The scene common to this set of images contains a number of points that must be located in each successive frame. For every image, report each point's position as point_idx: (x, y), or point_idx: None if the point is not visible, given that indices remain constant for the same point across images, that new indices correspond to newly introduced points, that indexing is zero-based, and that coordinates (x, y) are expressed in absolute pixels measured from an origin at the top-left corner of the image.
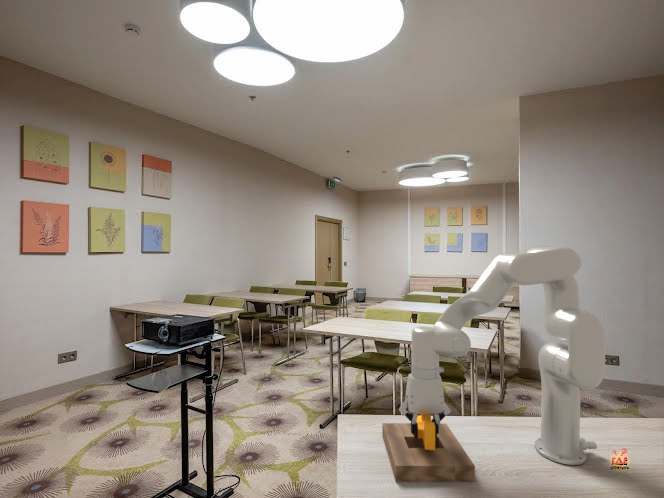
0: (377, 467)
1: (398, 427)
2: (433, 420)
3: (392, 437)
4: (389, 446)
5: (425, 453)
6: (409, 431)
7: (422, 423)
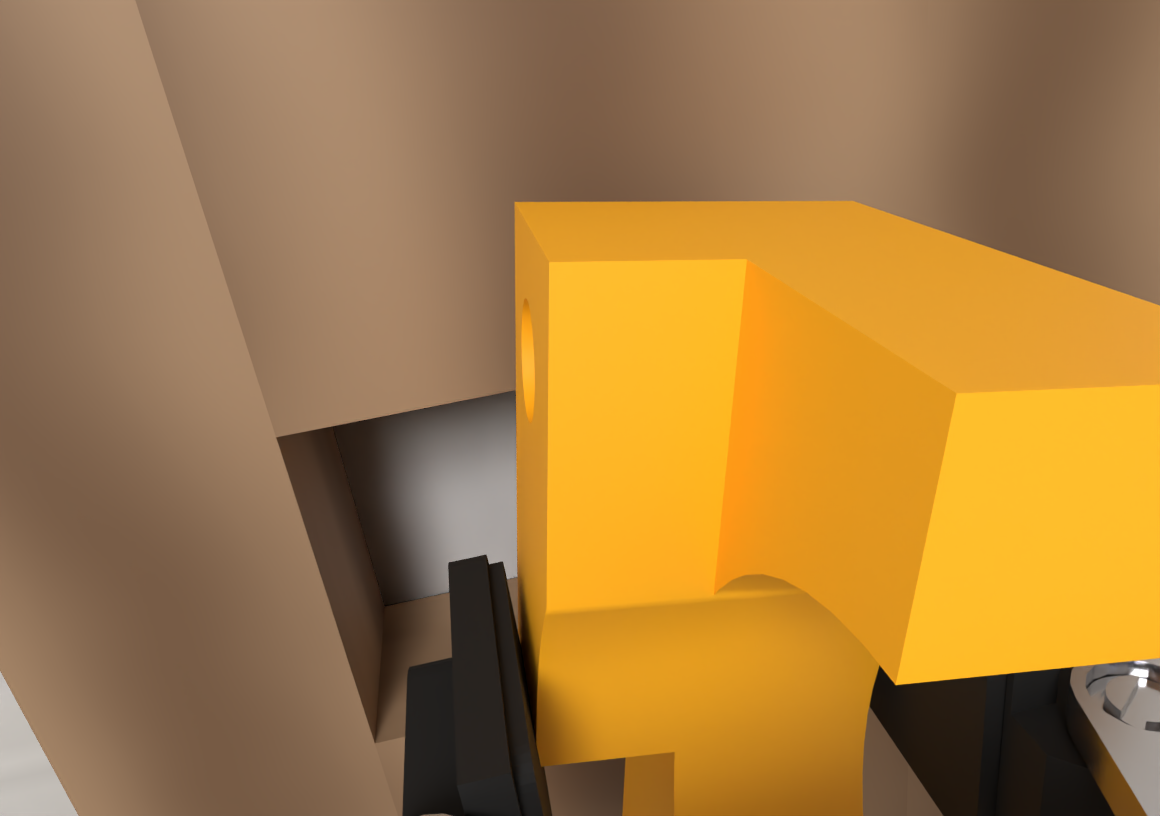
0: (5, 771)
1: (102, 43)
2: (1027, 790)
3: (44, 515)
4: (53, 742)
5: (614, 790)
6: (387, 200)
7: (712, 610)
